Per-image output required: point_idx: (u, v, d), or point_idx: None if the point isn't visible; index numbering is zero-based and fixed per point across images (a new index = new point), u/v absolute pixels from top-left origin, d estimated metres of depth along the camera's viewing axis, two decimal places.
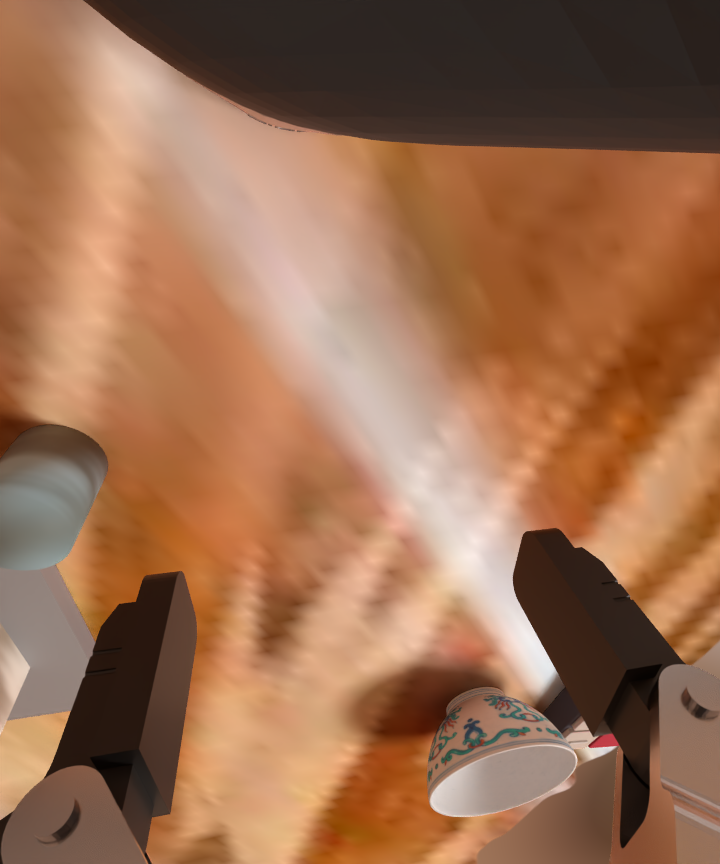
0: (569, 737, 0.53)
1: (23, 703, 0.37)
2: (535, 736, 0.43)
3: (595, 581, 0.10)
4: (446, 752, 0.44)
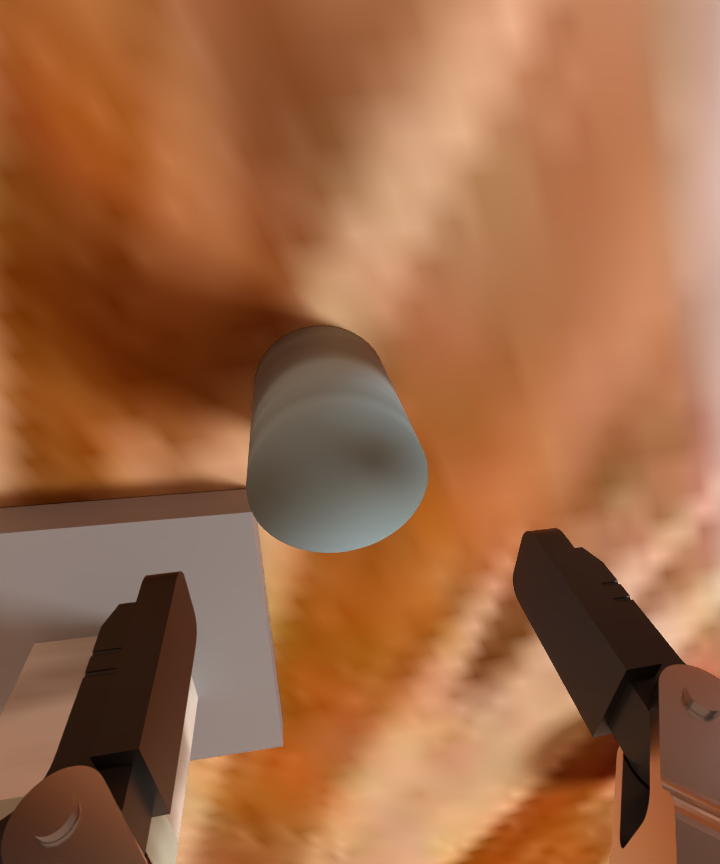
0: None
1: None
2: None
3: (595, 581, 0.10)
4: None
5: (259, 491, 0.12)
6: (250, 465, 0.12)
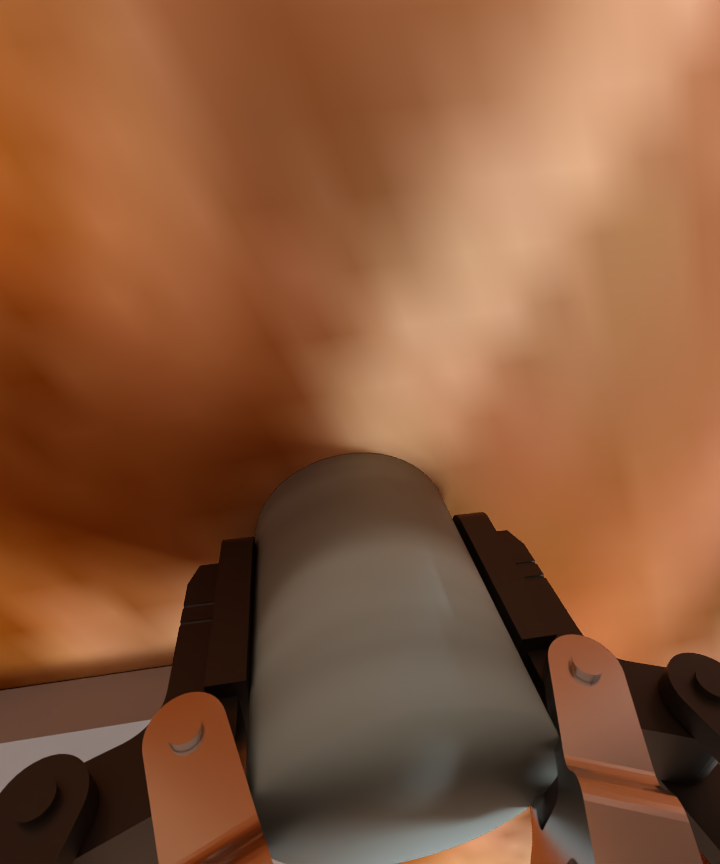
0: None
1: None
2: None
3: (509, 560, 0.10)
4: None
5: (268, 825, 0.07)
6: None
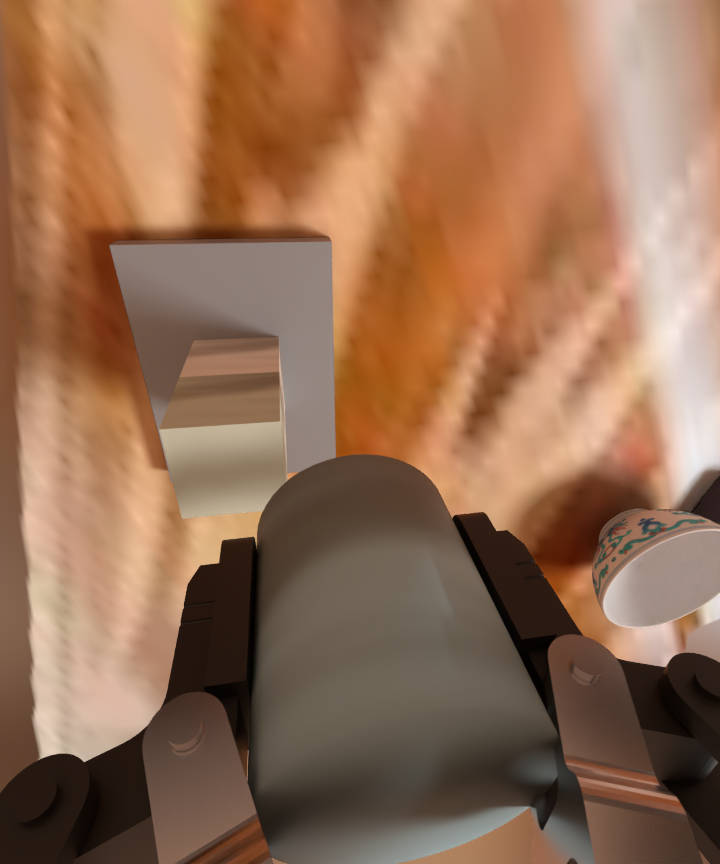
0: None
1: None
2: (713, 524, 0.45)
3: (509, 560, 0.10)
4: (624, 545, 0.47)
5: (270, 825, 0.07)
6: (253, 797, 0.07)
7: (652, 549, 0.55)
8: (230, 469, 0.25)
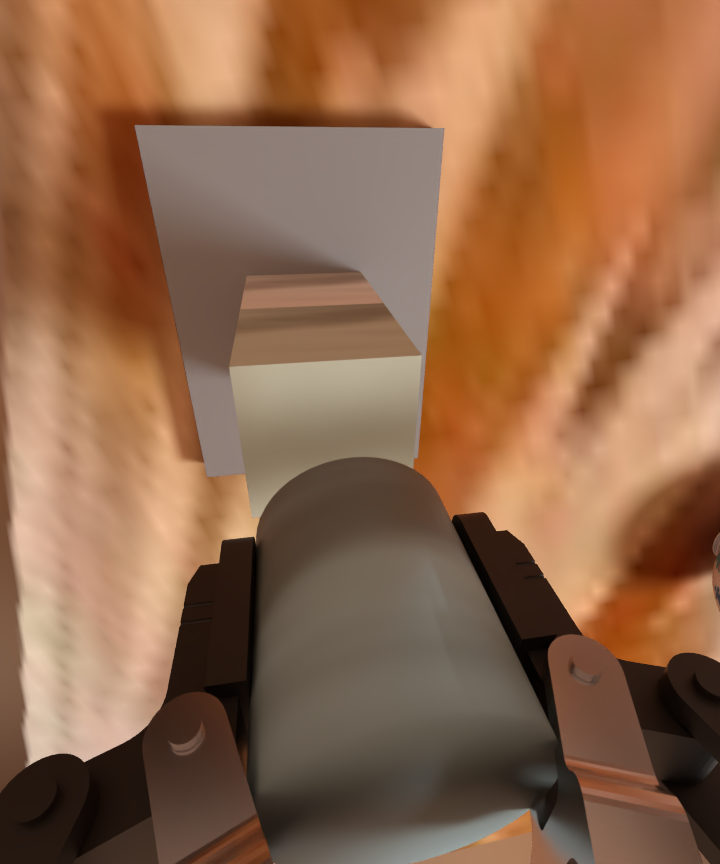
0: None
1: None
2: None
3: (509, 560, 0.10)
4: None
5: (268, 829, 0.07)
6: None
7: None
8: (334, 436, 0.16)
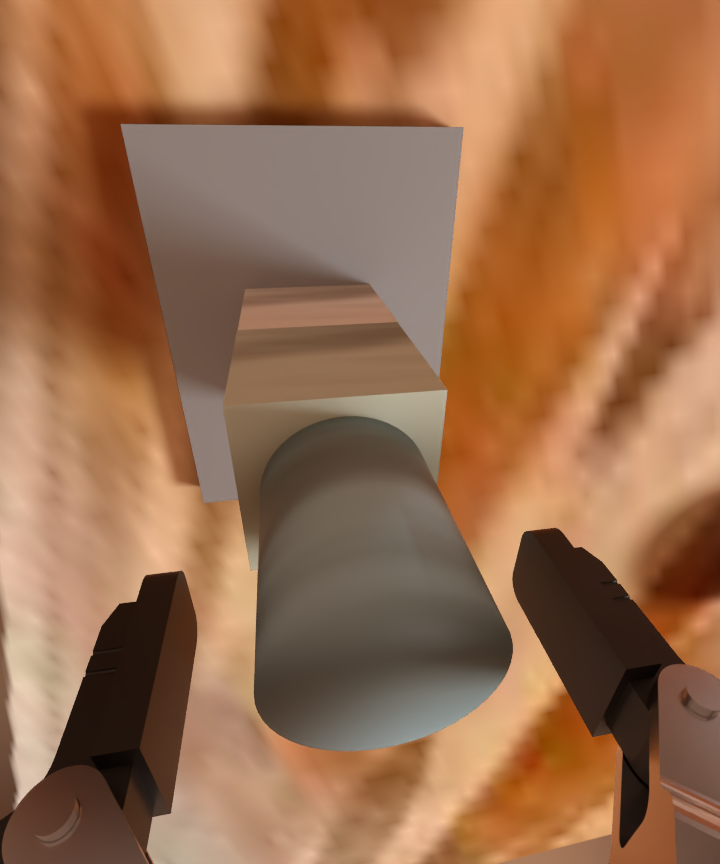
0: None
1: None
2: None
3: (594, 581, 0.10)
4: None
5: (273, 696, 0.09)
6: (260, 668, 0.08)
7: None
8: None
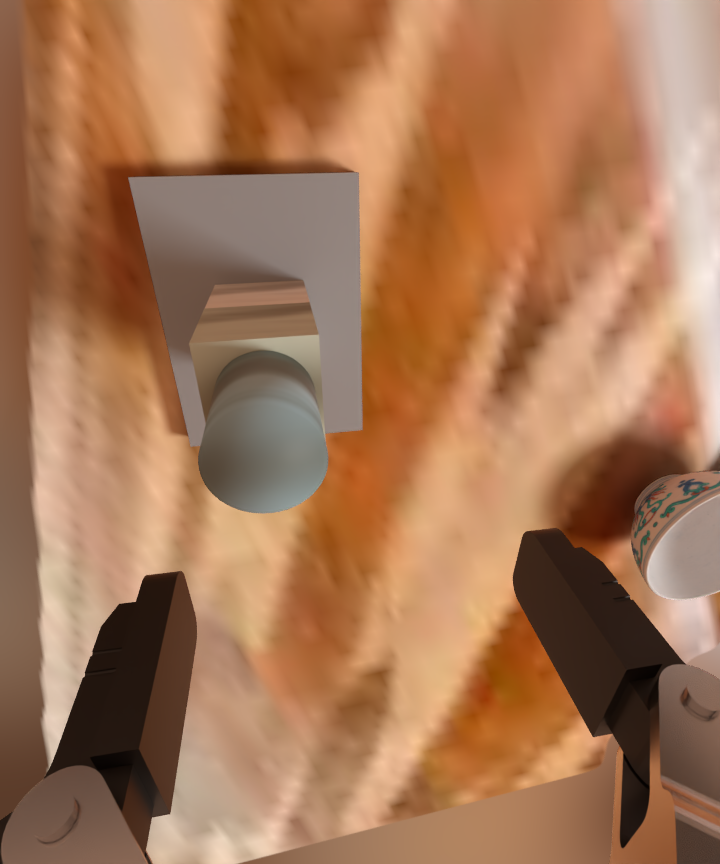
0: None
1: None
2: None
3: (595, 581, 0.10)
4: (665, 508, 0.44)
5: (208, 467, 0.18)
6: (200, 448, 0.18)
7: (691, 517, 0.52)
8: None
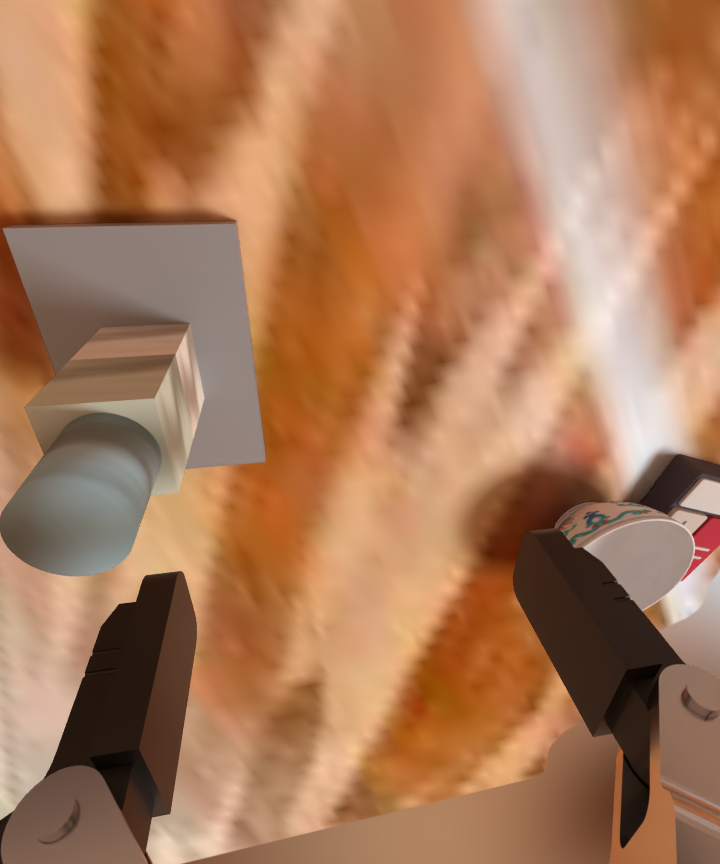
0: None
1: None
2: (657, 514, 0.44)
3: (595, 581, 0.10)
4: (569, 540, 0.46)
5: (11, 538, 0.19)
6: (0, 522, 0.19)
7: (609, 543, 0.53)
8: None
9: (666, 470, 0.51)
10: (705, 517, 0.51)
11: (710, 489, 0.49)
